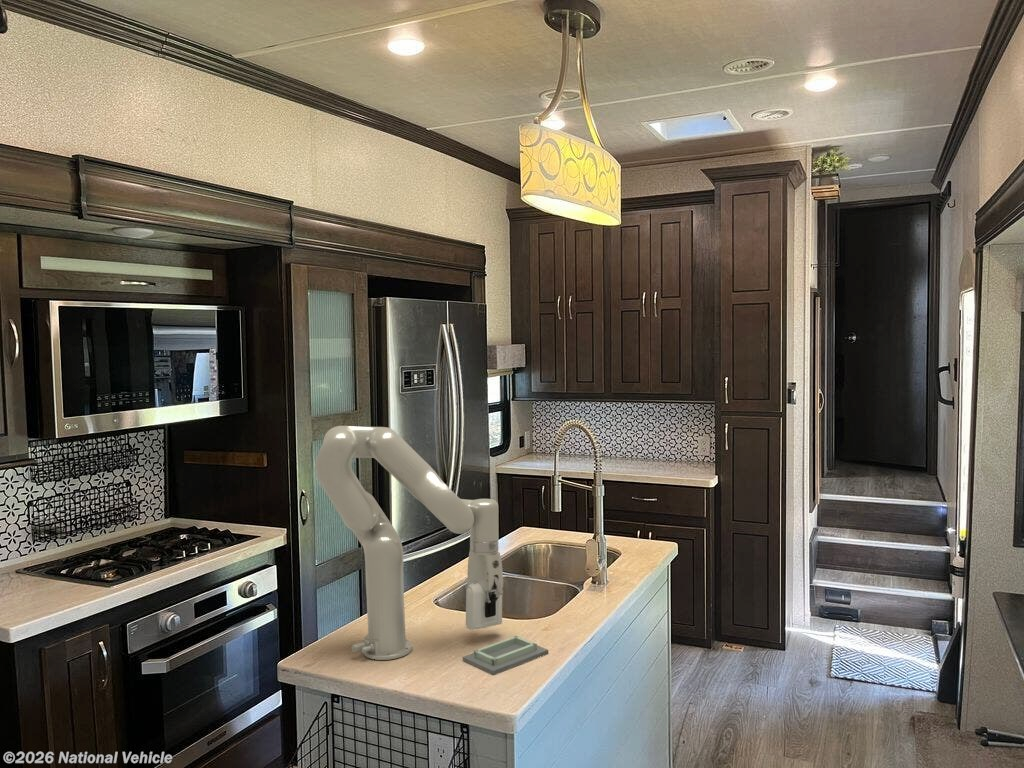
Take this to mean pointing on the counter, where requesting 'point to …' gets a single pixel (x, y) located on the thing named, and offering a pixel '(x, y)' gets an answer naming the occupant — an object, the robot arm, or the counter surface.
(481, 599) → the photo printer
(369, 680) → the counter surface
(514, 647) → the dock
